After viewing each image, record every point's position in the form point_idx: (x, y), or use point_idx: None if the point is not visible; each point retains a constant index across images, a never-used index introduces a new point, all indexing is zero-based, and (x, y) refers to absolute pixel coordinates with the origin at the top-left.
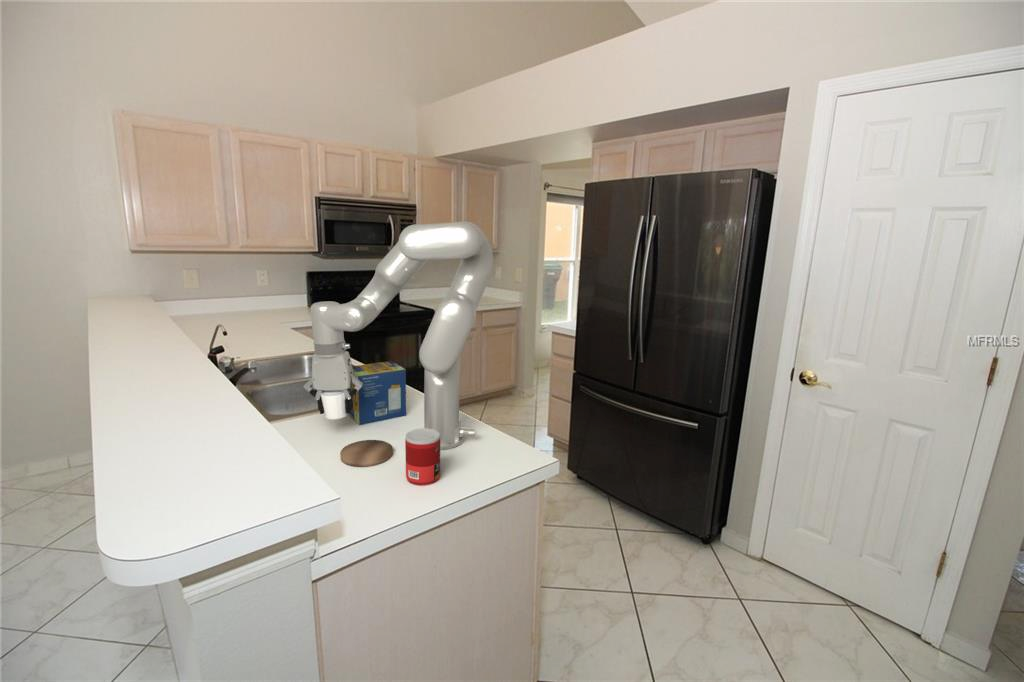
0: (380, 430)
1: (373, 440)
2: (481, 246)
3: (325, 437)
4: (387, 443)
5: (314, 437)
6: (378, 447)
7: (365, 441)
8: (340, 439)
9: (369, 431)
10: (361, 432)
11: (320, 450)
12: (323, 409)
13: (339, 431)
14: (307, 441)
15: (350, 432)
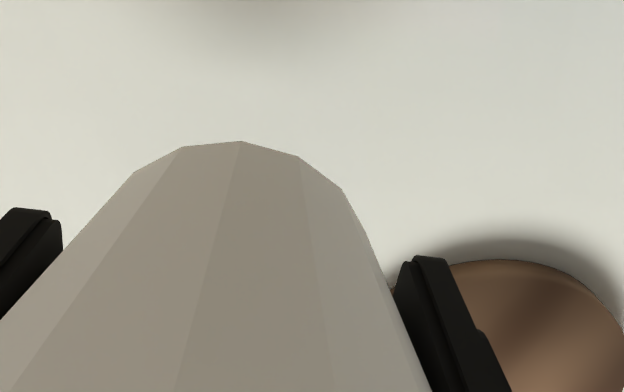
0: (611, 18)
1: (529, 288)
2: None
3: (140, 131)
4: (610, 330)
5: (41, 124)
6: (545, 373)
7: (474, 300)
8: None
9: (512, 32)
10: (440, 49)
11: None
12: None
13: (233, 5)
14: (18, 195)
15: (341, 40)
